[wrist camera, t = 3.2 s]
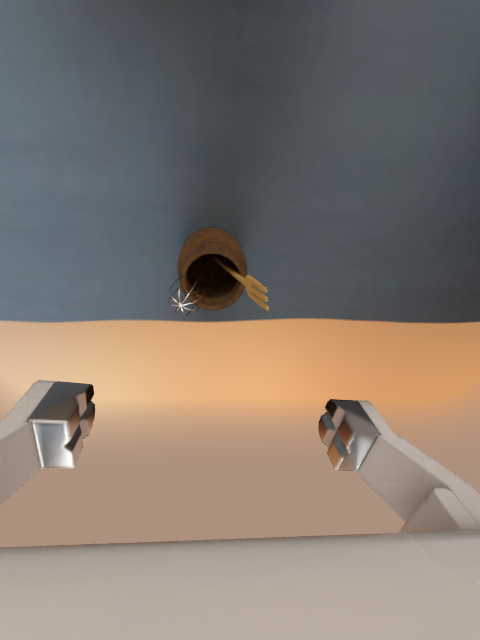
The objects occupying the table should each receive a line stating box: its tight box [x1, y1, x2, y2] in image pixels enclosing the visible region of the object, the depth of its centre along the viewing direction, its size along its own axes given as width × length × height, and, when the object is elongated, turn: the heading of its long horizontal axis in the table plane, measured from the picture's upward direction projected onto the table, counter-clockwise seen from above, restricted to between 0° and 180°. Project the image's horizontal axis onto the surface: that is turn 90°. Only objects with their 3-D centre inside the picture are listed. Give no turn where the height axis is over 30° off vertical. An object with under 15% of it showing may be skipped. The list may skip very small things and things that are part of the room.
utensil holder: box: [168, 227, 269, 315], centre depth 22 cm, size 6×6×12 cm
